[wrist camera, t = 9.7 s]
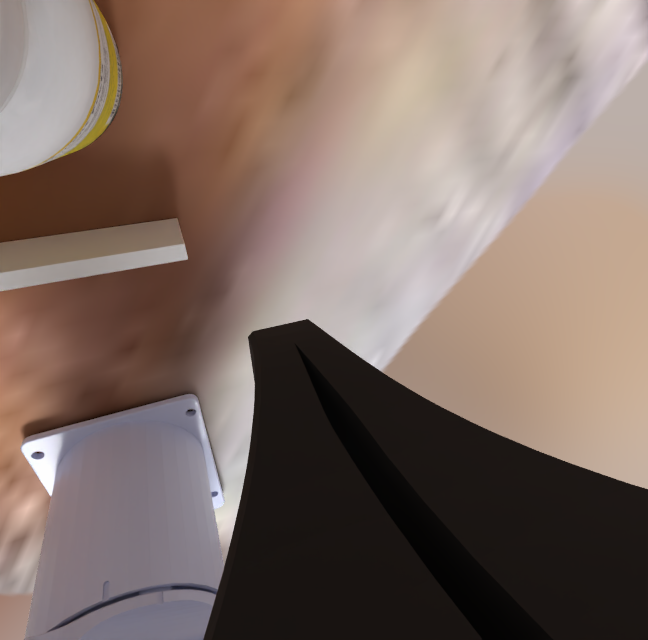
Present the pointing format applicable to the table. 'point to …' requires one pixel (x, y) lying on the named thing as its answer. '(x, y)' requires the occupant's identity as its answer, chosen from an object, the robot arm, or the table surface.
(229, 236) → the table surface
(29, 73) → the supplement bottle
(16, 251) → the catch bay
